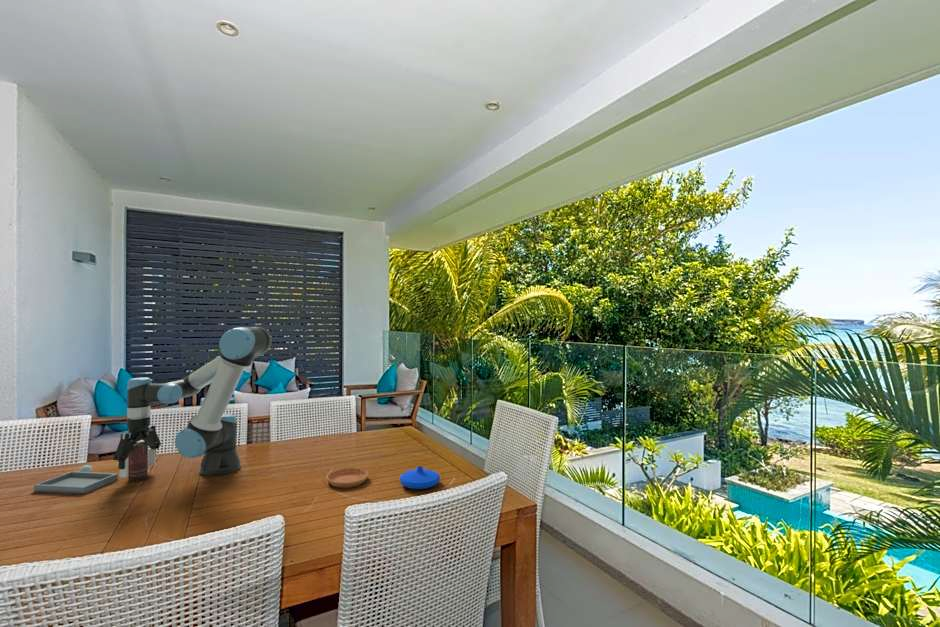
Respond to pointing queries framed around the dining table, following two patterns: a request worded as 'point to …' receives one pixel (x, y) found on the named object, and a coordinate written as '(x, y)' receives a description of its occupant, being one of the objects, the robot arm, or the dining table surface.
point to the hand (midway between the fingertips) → (138, 470)
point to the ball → (86, 468)
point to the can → (138, 462)
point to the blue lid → (419, 478)
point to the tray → (76, 482)
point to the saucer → (347, 477)
